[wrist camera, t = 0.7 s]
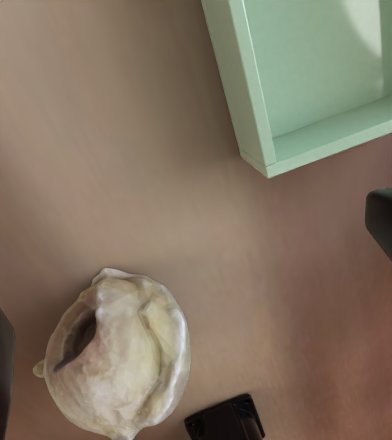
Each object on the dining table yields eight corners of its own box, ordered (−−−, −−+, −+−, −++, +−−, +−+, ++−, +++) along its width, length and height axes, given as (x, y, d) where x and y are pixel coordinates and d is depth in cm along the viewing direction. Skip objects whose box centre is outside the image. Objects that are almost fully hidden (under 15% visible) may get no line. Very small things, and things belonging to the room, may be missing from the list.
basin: (426, 88, 24) (491, 95, 20) (240, 157, 23) (267, 179, 19) (426, -183, 18) (519, -254, 14) (174, -100, 17) (193, -150, 13)
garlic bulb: (161, 256, 28) (240, 318, 20) (151, 352, 30) (219, 445, 21) (28, 266, 23) (60, 355, 15) (26, 381, 25) (53, 517, 16)
